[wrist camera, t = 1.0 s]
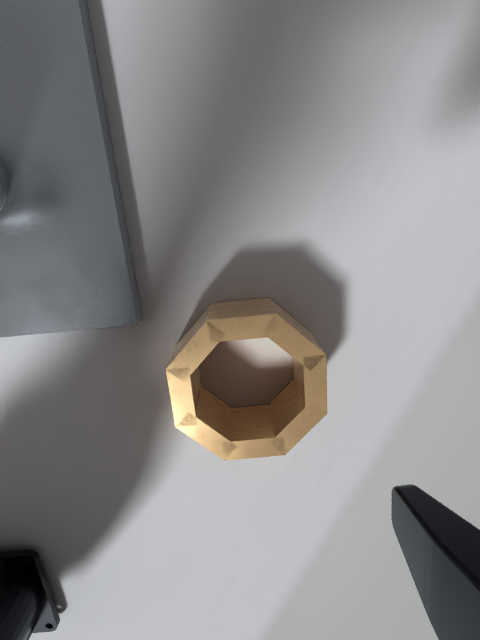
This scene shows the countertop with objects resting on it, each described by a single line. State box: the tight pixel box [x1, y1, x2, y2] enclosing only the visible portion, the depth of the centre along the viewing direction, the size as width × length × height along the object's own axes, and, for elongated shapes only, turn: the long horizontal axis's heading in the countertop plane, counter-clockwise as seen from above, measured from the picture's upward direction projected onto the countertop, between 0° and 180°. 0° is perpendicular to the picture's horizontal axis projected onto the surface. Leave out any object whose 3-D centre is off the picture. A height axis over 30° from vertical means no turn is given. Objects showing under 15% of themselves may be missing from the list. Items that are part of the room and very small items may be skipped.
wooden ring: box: [166, 298, 327, 460], centre depth 17 cm, size 7×7×3 cm
